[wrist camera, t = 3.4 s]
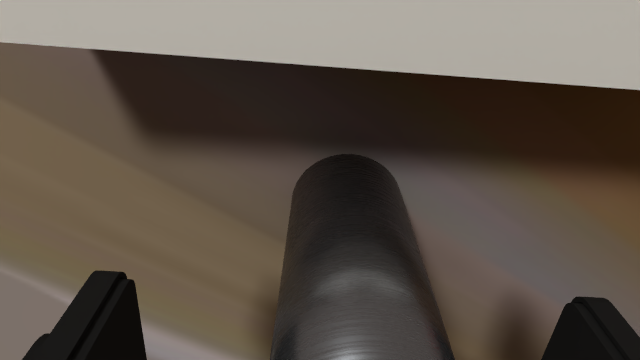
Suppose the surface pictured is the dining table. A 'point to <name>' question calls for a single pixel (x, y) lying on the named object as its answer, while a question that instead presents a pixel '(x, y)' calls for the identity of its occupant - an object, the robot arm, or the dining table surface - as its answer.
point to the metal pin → (354, 271)
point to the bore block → (358, 34)
